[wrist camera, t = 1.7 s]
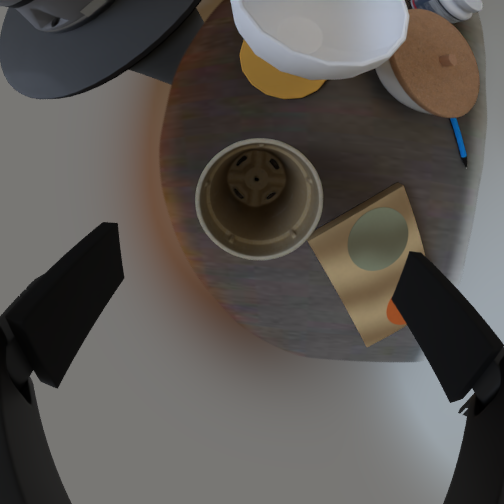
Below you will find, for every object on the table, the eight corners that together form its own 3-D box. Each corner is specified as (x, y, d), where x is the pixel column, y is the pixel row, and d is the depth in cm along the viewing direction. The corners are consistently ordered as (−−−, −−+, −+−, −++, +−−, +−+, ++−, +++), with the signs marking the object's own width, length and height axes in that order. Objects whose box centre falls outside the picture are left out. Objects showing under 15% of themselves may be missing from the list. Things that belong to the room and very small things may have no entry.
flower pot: (319, 159, 26) (346, 177, 19) (276, 234, 30) (285, 277, 22) (235, 117, 24) (228, 116, 17) (197, 199, 28) (177, 231, 21)
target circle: (380, 298, 33) (380, 299, 33) (428, 269, 31) (428, 269, 31) (392, 332, 36) (393, 333, 36) (435, 306, 34) (436, 306, 34)
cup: (263, 8, 19) (275, -86, 4) (344, 46, 20) (432, -6, 6) (223, 77, 22) (188, 25, 8) (307, 115, 24) (378, 113, 10)
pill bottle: (420, -12, 15) (460, -32, 7) (448, 18, 16) (492, 7, 8) (402, 2, 16) (443, -19, 9) (432, 34, 18) (479, 23, 10)
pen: (414, 24, 17) (412, 23, 17) (469, 166, 25) (468, 170, 25) (408, 26, 18) (406, 25, 18) (464, 167, 26) (463, 170, 25)
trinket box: (366, 11, 18) (407, -18, 10) (442, 55, 19) (494, 49, 11) (347, 90, 23) (389, 80, 14) (427, 129, 24) (481, 141, 16)
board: (305, 235, 30) (307, 241, 29) (397, 181, 27) (404, 185, 26) (364, 340, 38) (367, 348, 37) (431, 301, 35) (436, 307, 34)
